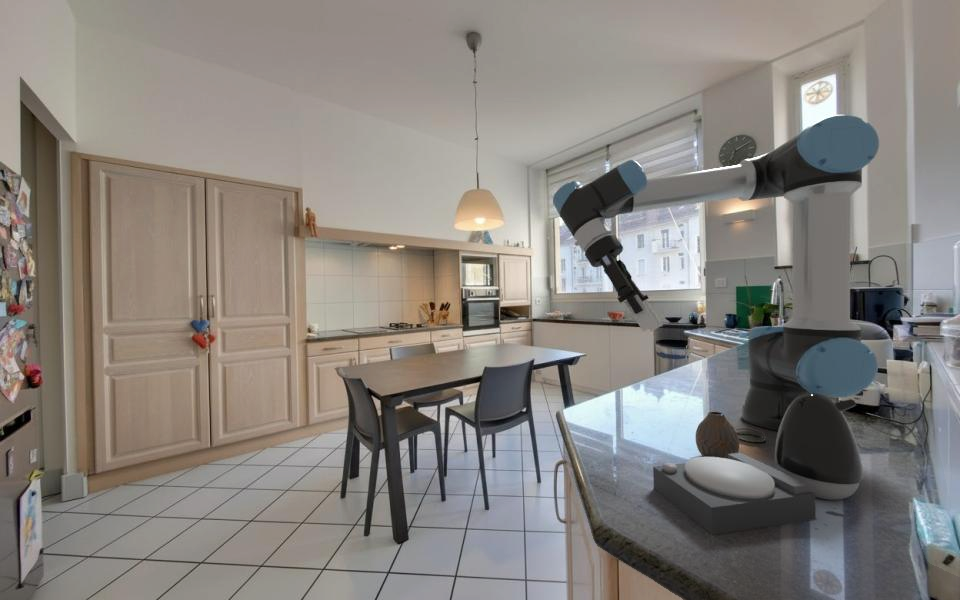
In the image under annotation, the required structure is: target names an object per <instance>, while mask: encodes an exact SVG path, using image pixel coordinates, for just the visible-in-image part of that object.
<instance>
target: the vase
mask: <svg viewBox="0 0 960 600" xmlns="http://www.w3.org/2000/svg"><path fill="white" fill-rule="evenodd" d="M695 445H696V448H697V450H698V452H699V453H700V454H701V457H719V458H726V459H728V454H733V453H739V451H740V439H739V436H738V433H737V431H736V430H735V428H734V427H733V425H732V424H731V423H730V421H729V420H727V418H726V416H725V414H724V413H723V412H720V411H715V410H713V411H708V413H707V415H706V417H704V418H703V419H702V420H701V422H699V424H698V426H697V428H696V431H695Z"/></svg>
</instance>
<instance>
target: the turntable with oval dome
mask: <svg viewBox="0 0 960 600" xmlns="http://www.w3.org/2000/svg"><path fill="white" fill-rule="evenodd" d="M652 468H653V469H652V470H653V471H652V473H653V474H652V475H653V476H652V477H653V489H654V490H655V491H657V492H658V493H659V494H660V495H661V496H663V497H664V498H665V499H667V501H669V502H670V503H671V504H673V505H674V506H675V507H677V508H678V509H679V510H680V511H682V512H683V513H684V514H686V515H687V516H688V517H689V518H691V519H692V520H693V521H694V522H696V523H697V524H698V525H699V526H701V527H702V528H703V529H705V530H706V531H707V532H708V533H709V534H711V535H712V536H714V535H718V534H719V535H721V534H726V533H733V532H740V531H746V530H754V529H760V528H767V527H774V526H775V527H776V526H780V525H787V524H794V523H801V522H808V521H815V520H816V519H817V514H816V513H817V510H816V509H817V508H816V497H815V494H814V493H812V492H810V491H809V485H808V484H806V483H804V482H802V481H800V480H798V479H796V478H793V477H791V476H789V475H787V474H785V473H783V472H781V471H780V470H779V469H776V468H775V467H772V466H770V465H768V464H765V463H763V462H761V461H759V460H757V459H755V458H753V457H751V456H748V455H746V454H743V452H738V453H733V454H728V459H726V458H719V457H703V456H699V457H697V456H696V457H693V458H689V459H688V460H687V461H686V462H684V463H677V464H676V463H672V462H663V463H662V465H658V466H653V467H652Z"/></svg>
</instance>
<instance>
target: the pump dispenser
mask: <svg viewBox="0 0 960 600" xmlns="http://www.w3.org/2000/svg"><path fill="white" fill-rule="evenodd" d="M856 406H857V403H856V401H855V400H854V399H846V400H841V401H837V402H834V401H833V400H832V399H830V397H828V396H824V395H820V394H816V393H806V394H802V395H800V396H798V397H796V398H795V399H794V400H793V401H792V403H791V404H790V405H789V407H788V409H787V410H786V412H785V414H784V416H783V419H782V421H781V424H780V427H779V430H778V431H777V434H776V438H775V439H776V440H775V446H774V454H773V455H774V462H775V464H776V465H777V467H778V471H781V472H783V473H785V474H787V475H789V476H791V477H793V478H796V479H798V480H800V481H802V482H804V483H806V484H808V485H809V491H810V492H812V493H814V494H815V498H817V499H822V500H829V501H830V500H843V499H847V498H849V497H851V496H852V495H853V494H854V493H856V492H857V490H858V489H859V486H860V483H861V482H863V480H864V468H863V462H862V458H861V454H860V453H861V452H860V449H859V447H858V444H857V441H856V438H855V435H854V433H853V430H852V428H851V426H850V424H849V422H848V420H847V418H846V416H845V415H844V414H843V412H844V411H846V410H849V409H851V408H854V407H856Z"/></svg>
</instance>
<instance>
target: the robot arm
mask: <svg viewBox="0 0 960 600" xmlns="http://www.w3.org/2000/svg"><path fill="white" fill-rule="evenodd" d="M879 147H880V138H879V135H878V133H877V131H876V129H875V128H874V126H873V125H871V123H869V122H866V121H864V120H863V119H862V118H861V117H859V116H856V115H850V114H836V115H830V116H827V117H824V118H822V119H820V120H818V121H817V122H814V123H811V124H810V125H807V126H806V127H805V128H803V130H801V131H800V132H799V133H798V134H797V135H795V136H794V137H791V139H789V140H788V141H786V142H785V143H783V144H781V145H780V146H778V147H777V148H775V149H772V151H769V152H767V153H765V154H762V155H760V156H757V157H753V158H746V159H742V160H741V161H740V162H738V164H736V165H731V166H730V165H729V166H725V167H719V168H712V169H711V168H710V169H706V170H705V169H703V170H700V171H693V172H685V173H679V174H675V175H674V174H673V175H667V176H660V177H656V178H650V179H648V178H647V177H648V176H647V175H646V172H645V170H644V167H642V166H641V165H640V163H639V162H638V161H636V160H635V159H629V160H627V161H625V162H622V163H621V164H618V165H616V166H615V167H614V168H612V169H610V170H609V171H607V172H606V173H604V174H603V175H600V177H597V178H596V179H594V180H592V181H591V182H589V183H587V184H585V185H583V184H581V183H580V182H579V181H577V180H572V181H571V182H567V183H565V184H563V185H562V186H561V187H559V188H558V189H557V190H556V192H555V193H554V195H553V197H552V204H553V205H554V207H555V209H556V211H557V213H558V215H559V217H560V218H561V220H562V221H563V223H564V224H565V227H567V229H568V231H569V232H570V234H571V235H572V237H573V238H574V239H575V242H574V246H575V247H578V246H579V247H580V249H581V251H582V252H584V256H585V258H586V259H587V262H589V264H590V265H591V267H593V268H599V267H601V266H602V268H603V272H604V273H605V275H607V277H608V279H609V280H610V281H611V283H612V285H613V287H614V289H615V291H616V293H617V296H618V297H617V301H618V302H619V303H620V304H622V303H623V302H624V304H625V305H626V307H627V308H628V311H629V312H630V313H631V316H633V318H634V319H635V322H636V323H637V324H638V326H639V328H640V329H641V330H642V332H645V331H647V330H650V332H653V331H655V330H657V329H659V328H660V327H661V328H662V327H663V326H664V325H663V323H662V321H661V320H660V318H659V317H658V315H657V313H656V312H655V310H653V308H652V306H651V305H650V303H649V302H648V300H649V296H648V295H647V294H646V295H645V294H643V293H642V292H641V290H640V288H639V287H638V286H637V284H636V282H635V281H634V280H633V279H632V275H631V273H630V272H629V271H628V269H627V267H626V264H625V263H624V262H623V261H622V260H621V259H619V260H617V257H618V256H620V255H621V253H622V252H623V250H624V246H623V245H622V243H621V242H620V240H619V239H618V237H617V236H616V235H614V231H613V230H612V228H611V227H610V225H609V224H608V222H607V220H608V219H609V220H610V219H612V218H615V217H617V215H624V214H629V213H631V214H632V213H637V212H644V211H651V210H657V209H665V208H672V207H673V208H674V207H679V206H686V205H693V204H701V203H709V202H715V201H722V200H730V199H737V198H738V200H740V201H754V200H760V199H770V198H771V199H772V198H779V197H781V198H782V197H783V198H784V199H785V200H787V201H789V202H790V203H791V205H792V295H791V296H792V299H791V300H792V301H791V302H792V304H791V305H792V309H791V311H792V313H791V314H792V316H791V318H790V319H789V320H787V321H786V322H785V323H783V325H771V326H769V325H767V326H766V325H765V326H754V327H753V328H750V329H749V331H748V340H747V345H748V368H749V370H748V371H749V388H748V392H747V394H746V398H745V400H744V404H743V405H742V408H741V416H742V417H741V418H742V419H743V420H744V421H745V422H747V423H749V424H751V425H754V426H757V427H761V428H762V429H763V428H764V429H768V430H774V431H777V432H778V430H779V427H780V424H781V421H782V419H783V416H784V414H785V412H786V410H787V409H788V407H789V405H790V404H791V403H792V401H793V400H794V399H795V398H796V397H798V396H800V395H802V394H806V393H816V394H820V395H823V396H825V397H827V398H836V399H840V398H843V399H844V398H849V397H853V396H855V395H859V394H860V393H861V392H862V391H863V390H865V389H867V388H869V387H870V386H871V384H872V383H873V382H874V381H875V379H876V377H877V375H878V369H879V362H878V359H877V358H878V357H877V356H876V354H875V353H874V352H873V350H871V349H870V348H869V346H868V345H867V344H865V343H863V342H862V328H861V326H859V325H858V324H856V323H855V322H854V321H852V319H851V197H852V195H853V194H855V193H856V192H857V191H858V190H859V189H860V188H862V185H863V184H862V183H863V182H862V180H863V178H862V177H863V169H864V168H865V167H866V166H867V165H868V164H870V163H871V161H872V160H873V159H875V157H876V155H877V153H878V151H879Z"/></svg>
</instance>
